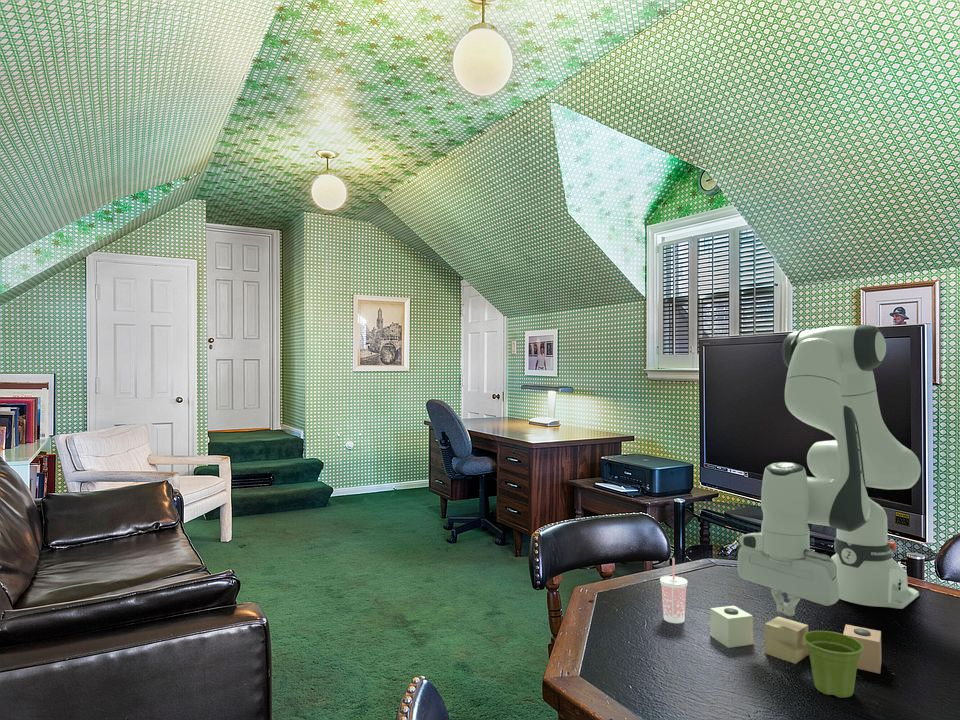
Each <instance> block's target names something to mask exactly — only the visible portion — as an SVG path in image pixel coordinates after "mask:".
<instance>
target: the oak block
mask: <svg viewBox="0 0 960 720" xmlns="http://www.w3.org/2000/svg"><path fill="white" fill-rule="evenodd" d="M807 632H809V624H805V623H803V622H798V621H795V620H792V619H788V618H785V617H781V616H776V617H774V618H772V619H771V620H769V621H768V622H767V621H766V622H765V623H764V654H766V655H769V656H771V657H774V658H777V659H780V660H784V661H786V662H789V663H793V664H795V665H796V664H797V663H799V662H800V661H802V660H803V659H805V658H806V657H807V656H809V650H808V648H807V645H806V642H805V641H804V639H803V635H804V634H805V633H807Z"/></svg>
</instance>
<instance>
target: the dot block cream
mask: <svg viewBox="0 0 960 720" xmlns="http://www.w3.org/2000/svg"><path fill="white" fill-rule="evenodd" d="M709 610H710V611H709V612H710V614H709V615H710V617H709V618H710V620H709V621H710V623H709V624H710V625H709V626H710V628H709V629H710V630H709V631H710V635H709V636H710V637H711V636H712V637H711V638H713V639H714V638H715V639H714V640H716V641H717V642H718V643H720V644H722V645H724V646H725V647H726V648H728V649H729V648H735V647H742V646H743V647H745V646H751V645H752V646H753V645H754V615H752V614H751V613H749V612H747V611H744V610H743V609H741V608H740V607H737V606H735V605H727V606H719V607H710V609H709Z"/></svg>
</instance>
